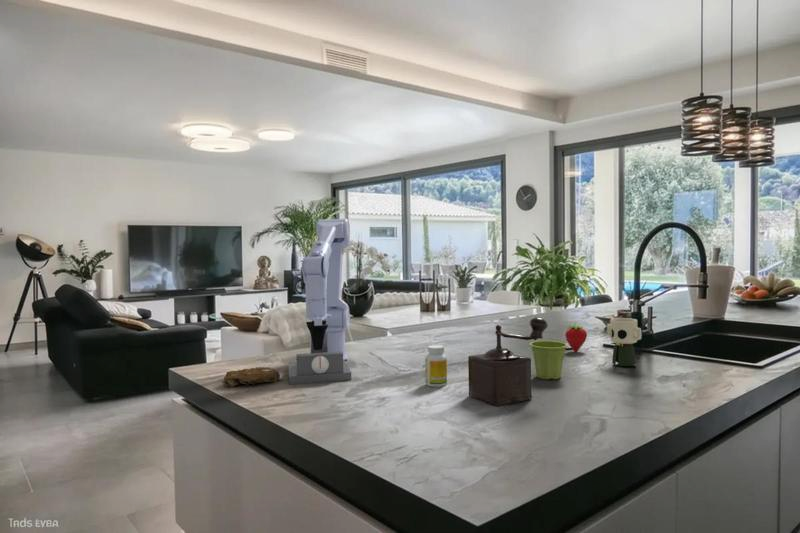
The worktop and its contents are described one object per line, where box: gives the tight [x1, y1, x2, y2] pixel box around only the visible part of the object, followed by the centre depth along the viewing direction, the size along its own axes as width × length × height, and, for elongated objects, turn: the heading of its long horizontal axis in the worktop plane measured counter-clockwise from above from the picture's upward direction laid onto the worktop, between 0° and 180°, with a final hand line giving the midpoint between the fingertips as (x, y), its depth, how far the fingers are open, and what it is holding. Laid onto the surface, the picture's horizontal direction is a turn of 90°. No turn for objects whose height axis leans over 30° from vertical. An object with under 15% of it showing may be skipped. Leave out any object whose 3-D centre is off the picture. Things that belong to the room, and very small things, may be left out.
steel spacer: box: [309, 332, 328, 353], centre depth 152 cm, size 4×4×6 cm
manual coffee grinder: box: [467, 317, 548, 407], centre depth 124 cm, size 16×11×18 cm
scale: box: [288, 351, 352, 385], centre depth 150 cm, size 18×16×7 cm
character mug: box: [606, 317, 642, 367], centre depth 153 cm, size 11×7×13 cm, turn 30°
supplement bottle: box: [424, 344, 448, 388], centre depth 136 cm, size 5×5×10 cm
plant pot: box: [529, 340, 568, 380], centre depth 141 cm, size 9×9×9 cm
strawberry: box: [564, 323, 588, 352], centre depth 174 cm, size 6×8×10 cm
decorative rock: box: [220, 366, 281, 388], centre depth 142 cm, size 11×4×15 cm
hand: (317, 348), depth 152 cm, fingers closed on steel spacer, 4 cm apart
